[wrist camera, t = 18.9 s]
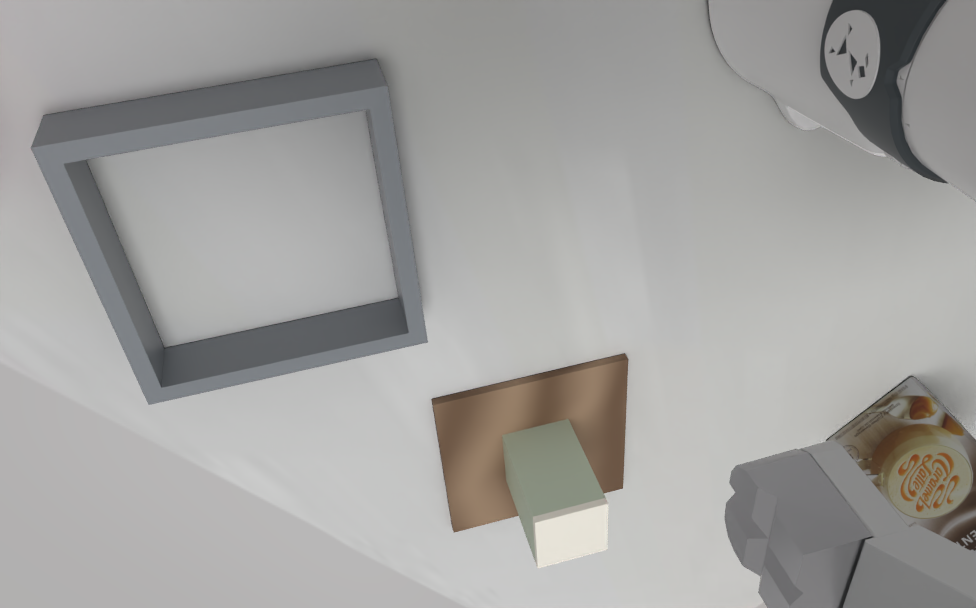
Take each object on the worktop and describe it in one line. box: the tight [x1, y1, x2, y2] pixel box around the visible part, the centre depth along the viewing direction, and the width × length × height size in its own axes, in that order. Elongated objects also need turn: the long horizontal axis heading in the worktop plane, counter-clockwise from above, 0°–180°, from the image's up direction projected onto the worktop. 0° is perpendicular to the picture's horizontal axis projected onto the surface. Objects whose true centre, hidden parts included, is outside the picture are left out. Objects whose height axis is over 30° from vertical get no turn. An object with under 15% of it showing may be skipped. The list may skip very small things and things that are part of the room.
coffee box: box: [827, 377, 976, 553], centre depth 66 cm, size 9×6×16 cm
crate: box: [31, 59, 428, 405], centre depth 44 cm, size 16×16×4 cm
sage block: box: [502, 419, 608, 568], centre depth 59 cm, size 5×5×8 cm
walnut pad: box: [432, 354, 628, 532], centre depth 62 cm, size 14×14×1 cm
